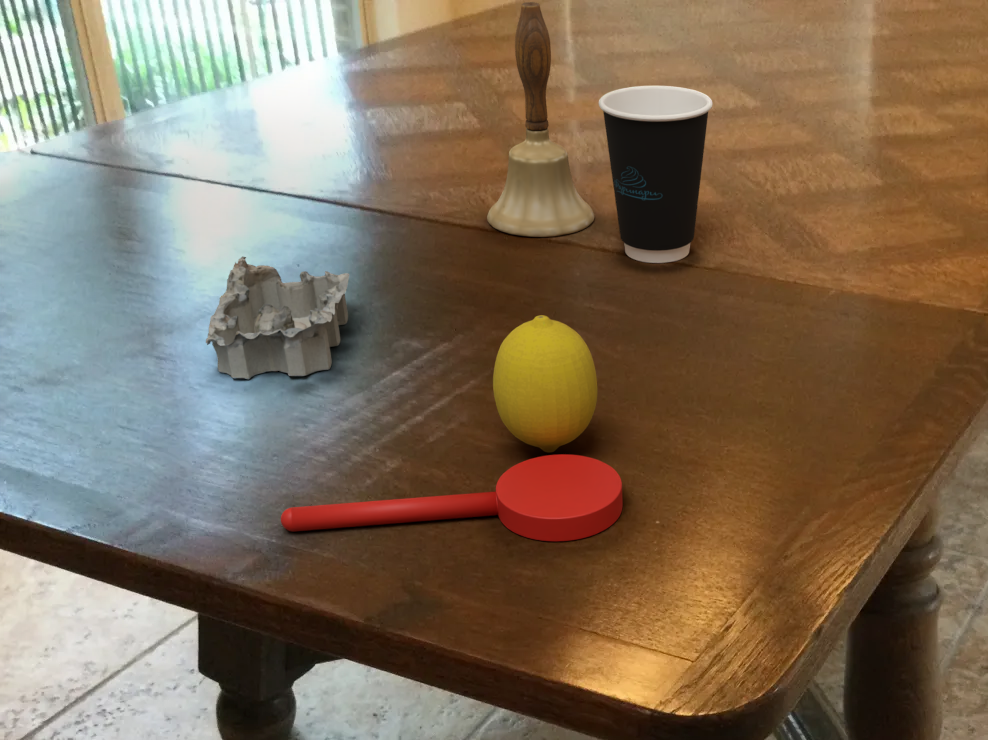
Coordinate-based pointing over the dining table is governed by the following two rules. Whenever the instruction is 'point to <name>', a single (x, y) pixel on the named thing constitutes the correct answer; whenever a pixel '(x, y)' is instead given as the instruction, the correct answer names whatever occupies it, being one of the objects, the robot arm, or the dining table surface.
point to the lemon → (545, 383)
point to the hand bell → (537, 151)
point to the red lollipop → (498, 502)
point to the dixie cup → (656, 166)
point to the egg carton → (277, 321)
